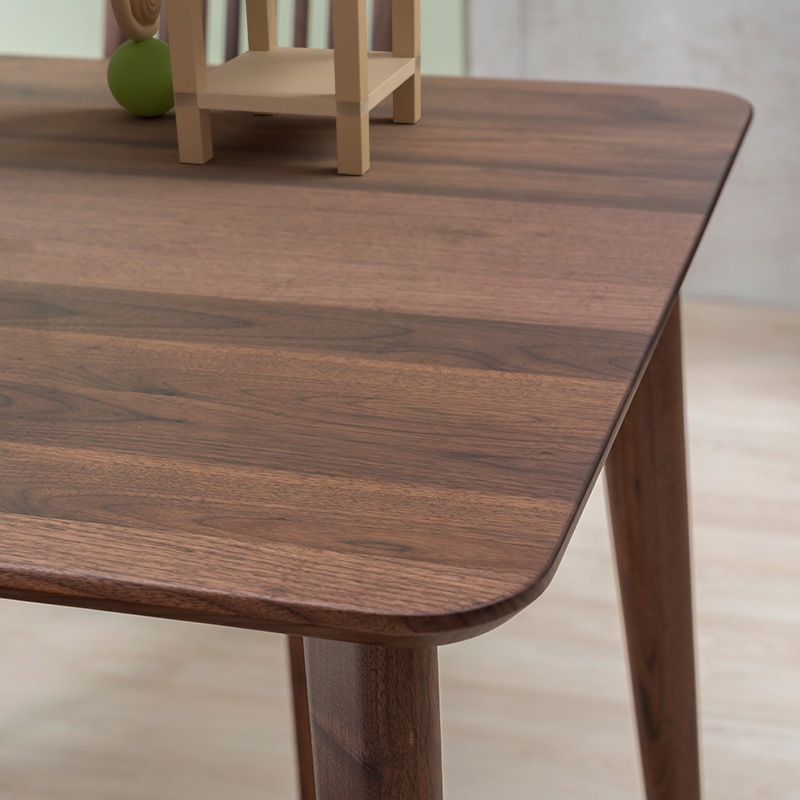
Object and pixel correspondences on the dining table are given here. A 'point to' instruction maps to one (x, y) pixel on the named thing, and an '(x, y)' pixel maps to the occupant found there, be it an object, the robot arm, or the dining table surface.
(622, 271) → the dining table surface
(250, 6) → the rack
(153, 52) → the snail figurine
